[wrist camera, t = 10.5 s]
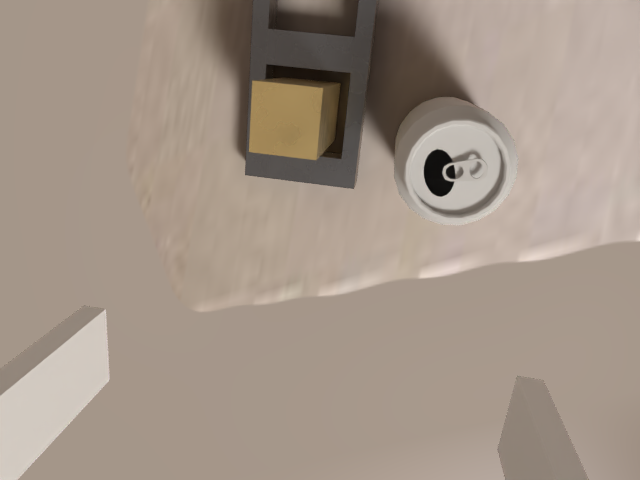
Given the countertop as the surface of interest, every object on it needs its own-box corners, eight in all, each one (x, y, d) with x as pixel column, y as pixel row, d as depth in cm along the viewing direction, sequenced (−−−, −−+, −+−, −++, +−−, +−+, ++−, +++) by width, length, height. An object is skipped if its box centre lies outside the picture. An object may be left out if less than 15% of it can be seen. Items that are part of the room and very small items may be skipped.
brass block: (340, 83, 41) (323, 88, 31) (334, 139, 42) (316, 160, 33) (285, 77, 41) (252, 80, 32) (282, 133, 43) (248, 152, 33)
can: (389, 104, 41) (385, 118, 29) (486, 88, 39) (521, 96, 28) (401, 194, 43) (401, 240, 32) (493, 182, 41) (528, 226, 30)
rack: (389, -91, 36) (388, -102, 34) (356, 182, 43) (353, 188, 41) (267, -99, 37) (258, -110, 35) (253, 169, 44) (245, 174, 42)
